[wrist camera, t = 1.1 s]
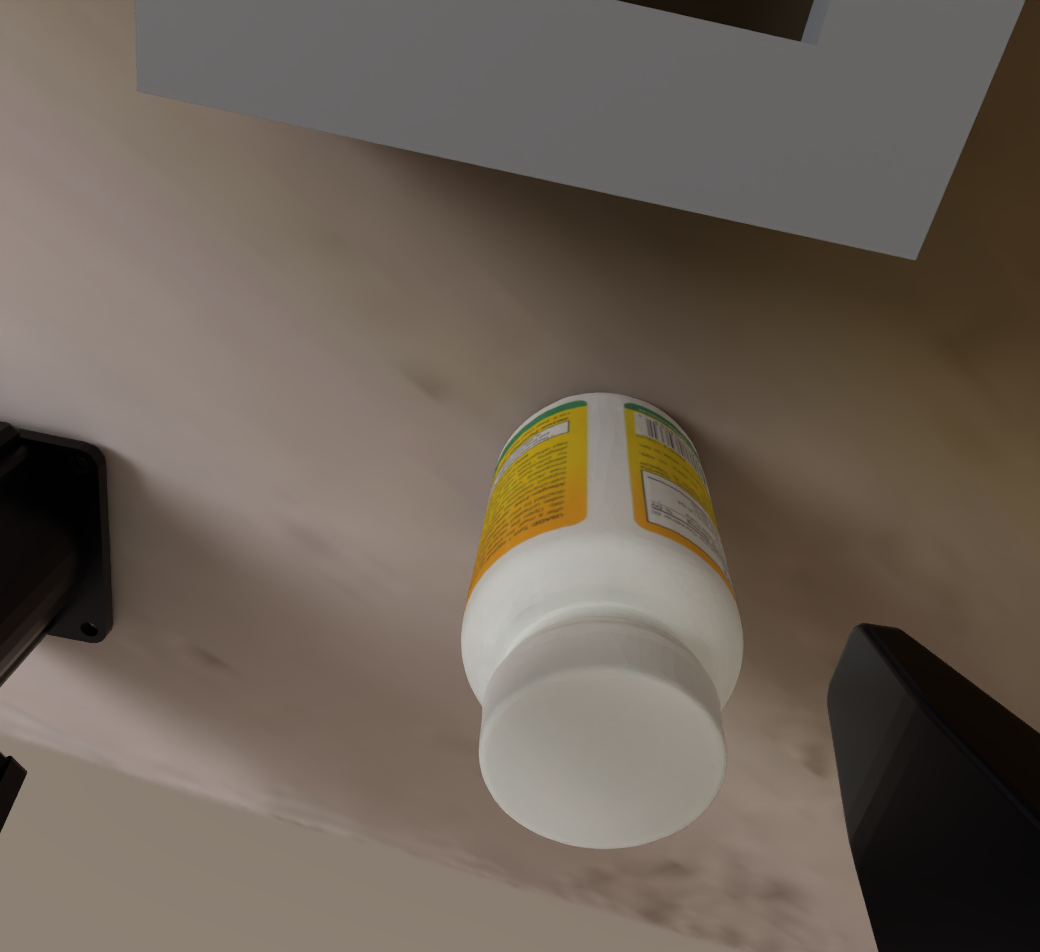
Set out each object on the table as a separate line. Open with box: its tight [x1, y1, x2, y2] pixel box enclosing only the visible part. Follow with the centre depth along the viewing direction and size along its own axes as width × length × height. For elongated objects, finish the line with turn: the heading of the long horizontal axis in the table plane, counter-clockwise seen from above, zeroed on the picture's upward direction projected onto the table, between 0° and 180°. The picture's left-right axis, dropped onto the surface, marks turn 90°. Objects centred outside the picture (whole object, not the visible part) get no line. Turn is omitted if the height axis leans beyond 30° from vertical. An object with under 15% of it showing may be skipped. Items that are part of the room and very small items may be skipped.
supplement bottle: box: [461, 393, 743, 849], centre depth 18 cm, size 5×5×10 cm
